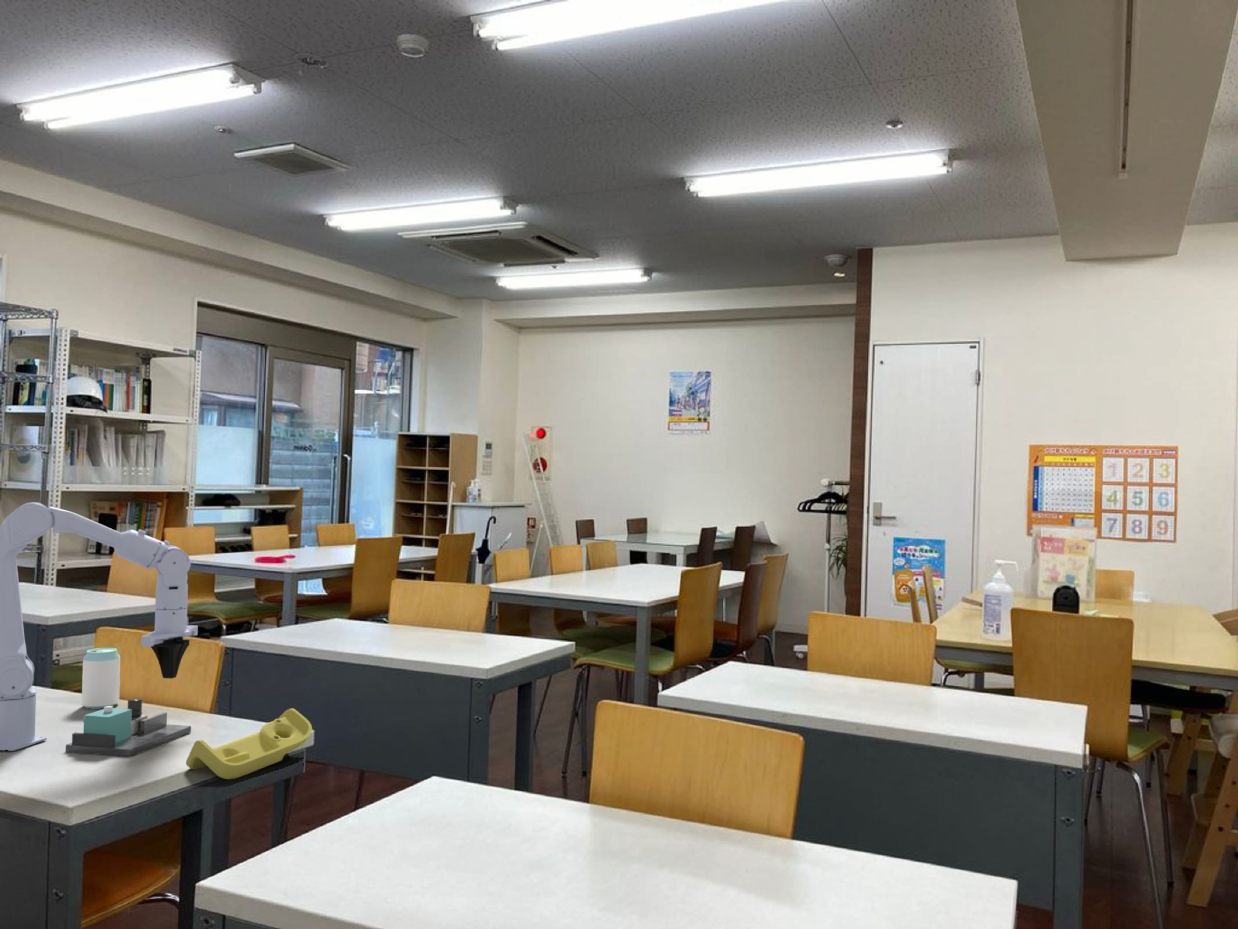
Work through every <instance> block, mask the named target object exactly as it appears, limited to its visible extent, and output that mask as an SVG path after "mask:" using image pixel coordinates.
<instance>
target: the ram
mask: <svg viewBox="0 0 1238 929" xmlns="http://www.w3.org/2000/svg"><path fill="white" fill-rule="evenodd" d="M127 709H132V720H131V735H133V734H135V733H138V732H140V725H141V720H143V719H146V718H149V717H148V716H149V715H148V714H143V710H142V709H143V699H142V698H130V699H128V700H127Z"/></svg>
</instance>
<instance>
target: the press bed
mask: <svg viewBox="0 0 1238 929" xmlns="http://www.w3.org/2000/svg"><path fill="white" fill-rule="evenodd" d="M167 719H168V713H167V712H161V713H158V714H155V715H152V716H149V717H147V718H146V719H143V720H141V725H140V732H138V733H135V734H133V735H131V737H129V738H126V739H124V740H121V741H118V742H116V743H115V735H104V734H90V733H84V732H78V731H77V732H74V733H71V742H70V743H68V744H65V752H66V753H67V752H68V753H80V754H89V755H90V754H92V755H103V756H115V757H116V756H117V757H133V756H136V755H138V754H140V753H144V752H145V751H148V750H150V749H153V748H155V746H156V747H158V746H160V745H163V744H165V742H166V743H168V742H170V740H171V741H173V740H175V738H176V739H178V738H180V737H183V736H185V735H188V734H190V733H192V725H180V724H170V723H169V724H168V722H167ZM189 732H190V733H189ZM182 735H183V736H182ZM179 736H180V737H179ZM172 739H173V740H172ZM162 743H163V744H162ZM152 747H153V748H152Z"/></svg>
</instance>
